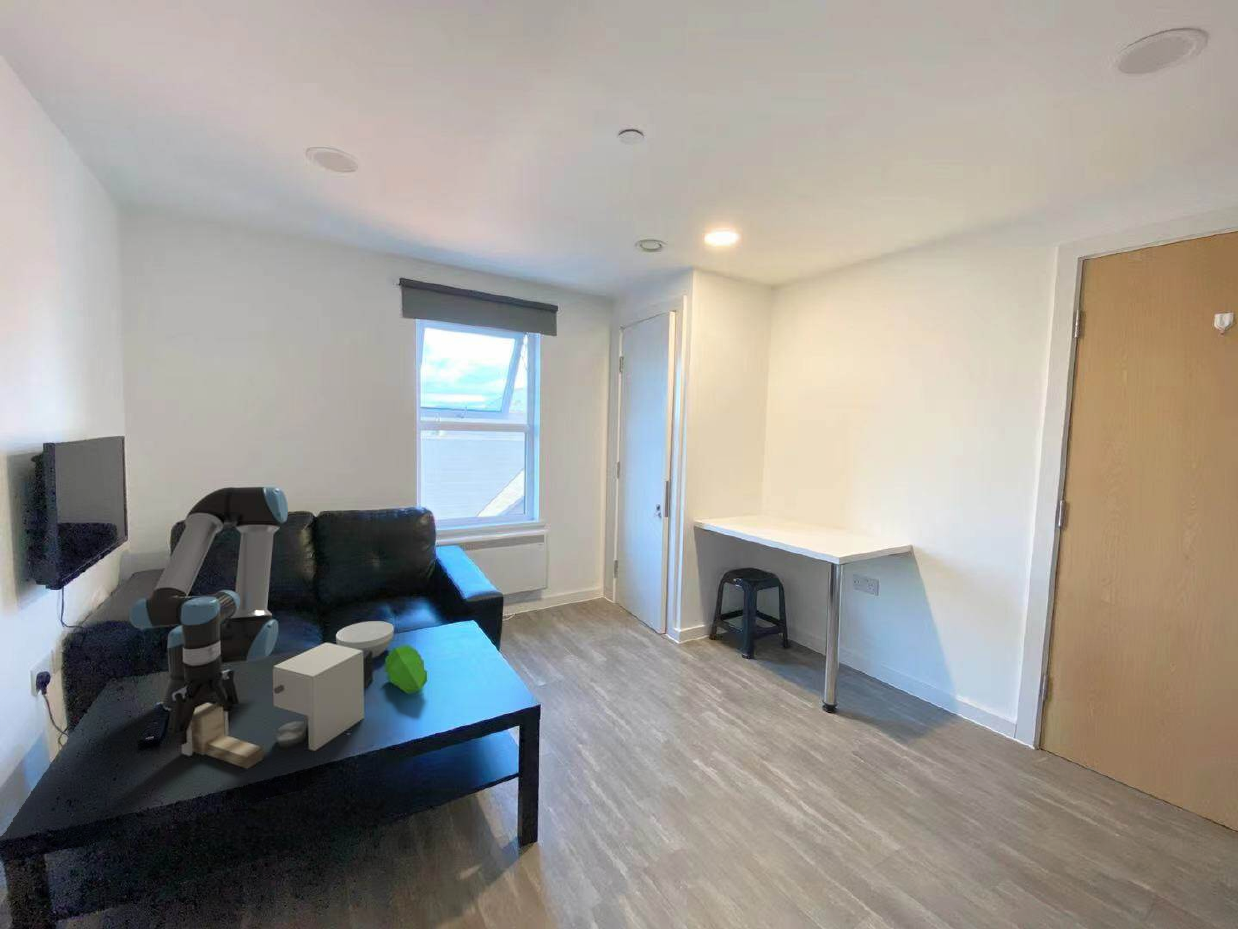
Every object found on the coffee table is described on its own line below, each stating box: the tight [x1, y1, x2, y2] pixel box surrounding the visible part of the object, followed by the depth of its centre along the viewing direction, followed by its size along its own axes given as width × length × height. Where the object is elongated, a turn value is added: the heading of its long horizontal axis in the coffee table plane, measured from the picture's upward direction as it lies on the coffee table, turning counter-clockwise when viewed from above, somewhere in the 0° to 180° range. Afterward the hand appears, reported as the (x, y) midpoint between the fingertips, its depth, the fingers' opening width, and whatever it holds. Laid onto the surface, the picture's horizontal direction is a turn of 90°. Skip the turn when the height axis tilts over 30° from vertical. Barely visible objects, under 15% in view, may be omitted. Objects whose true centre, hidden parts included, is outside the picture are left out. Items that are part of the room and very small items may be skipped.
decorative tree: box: [384, 644, 428, 695], centre depth 165 cm, size 11×12×30 cm
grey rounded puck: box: [276, 721, 307, 747], centre depth 138 cm, size 6×6×3 cm
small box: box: [362, 650, 374, 690], centre depth 166 cm, size 11×6×10 cm, turn 92°
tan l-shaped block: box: [188, 703, 264, 769], centre depth 131 cm, size 21×5×10 cm, turn 71°
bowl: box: [335, 620, 394, 659], centre depth 187 cm, size 19×19×9 cm
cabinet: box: [272, 642, 365, 752], centre depth 141 cm, size 14×18×20 cm
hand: (205, 743), depth 134 cm, fingers open, 8 cm apart
